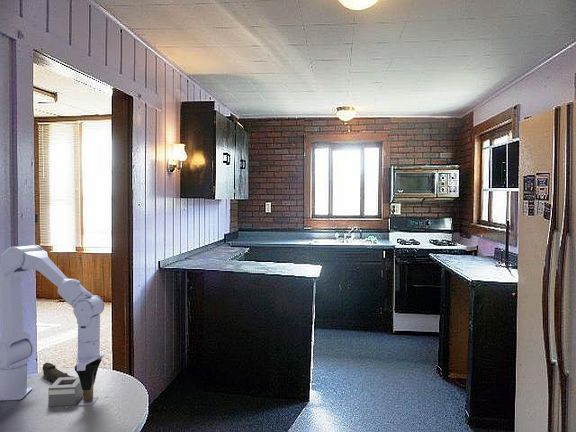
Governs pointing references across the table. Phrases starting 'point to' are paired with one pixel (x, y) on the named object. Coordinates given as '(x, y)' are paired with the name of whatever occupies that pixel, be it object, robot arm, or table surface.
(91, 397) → the wooden rod
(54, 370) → the brown rough rod
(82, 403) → the pad
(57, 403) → the gray hollow box
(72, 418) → the table surface
